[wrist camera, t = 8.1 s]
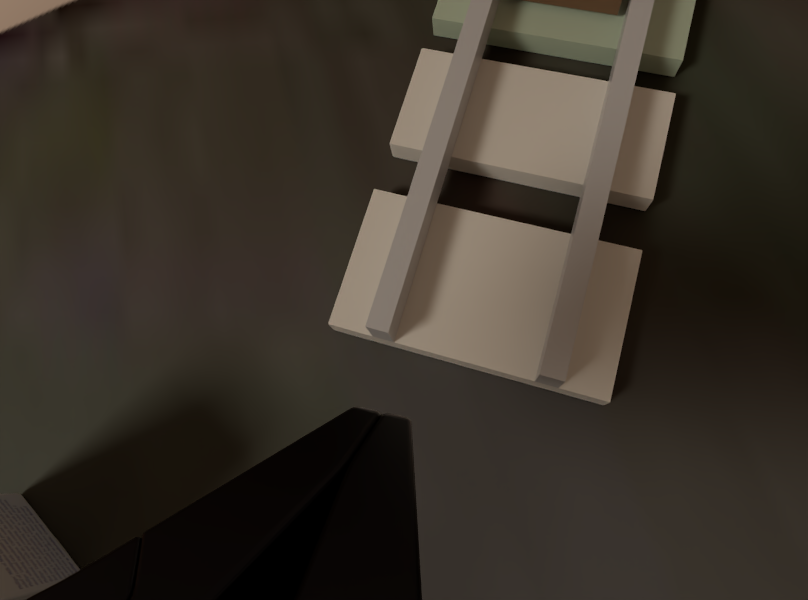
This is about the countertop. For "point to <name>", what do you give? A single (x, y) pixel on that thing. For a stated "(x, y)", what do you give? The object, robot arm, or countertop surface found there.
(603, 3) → the slider
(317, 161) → the countertop surface
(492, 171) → the track
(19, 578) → the medicine box
